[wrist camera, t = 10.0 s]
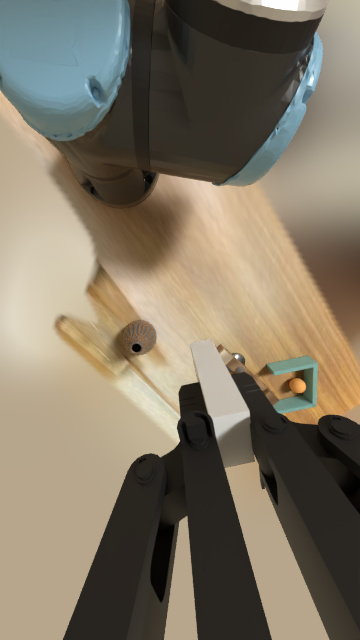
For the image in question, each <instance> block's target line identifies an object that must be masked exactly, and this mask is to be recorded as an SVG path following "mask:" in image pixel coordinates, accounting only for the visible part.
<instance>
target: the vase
mask: <svg viewBox="0 0 360 640" xmlns="http://www.w3.org/2000/svg"><path fill="white" fill-rule="evenodd" d="M122 339H123V344H124V347H125V348H126V350H127V351H128V352H130V353H132V354H134V355H143V354H146V353H148V352H149V351H150V350H151V349H152V348H153V347H154V345H155V343H156V331H155V329H154V327H153V326H152V325H151V324H150V323H149V322H147V321H144V320H137V321H133V322H132V323H130V324H129V325H128V326H127V327H126V328H125V330H124V332H123V337H122Z"/></svg>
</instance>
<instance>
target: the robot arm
mask: <svg viewBox="0 0 360 640" xmlns="http://www.w3.org/2000/svg"><path fill="white" fill-rule="evenodd" d="M328 2H329V0H0V90H1V92H2V93H3V94H4V95H5V97H6V98H7V99H8V100H9V101H10V102H11V103H12V105H13V106H14V107H15V108H16V109H17V110H18V112H19V113H20V114H21V116H22V117H23V119H24V120H25V121H26V123H27V124H28V125H29V126H30V127H32V128H33V129H34V130H36V131H37V132H38V133H39V134H42V135H43V136H44V137H45V138H46V139H47V140H48V141H49V142H50V143H51V144H52V145H53V146H54V147H55V148H56V149H58V150H59V151H60V152H61V153H62V154H63V155H64V156H65V157H66V158H67V159H68V162H69V165H70V167H71V170H72V172H73V174H74V176H75V177H76V179H77V180H78V182H79V183H80V185H81V186H82V187H83V188H84V189H85V190H86V191H87V192H88V193H89V194H90V195H91V196H93V197H94V198H95V199H97V200H98V201H100V202H101V203H103V204H106V205H108V206H111V207H116V208H127V207H131V206H134V205H137V204H139V203H140V202H142V201H143V200H145V199H146V198H147V197H148V196H149V195H150V193H151V192H152V191H153V189H154V187H155V185H156V183H157V180H158V177H159V173H160V174H166V175H172V176H178V177H183V178H189V179H195V180H201V181H207V182H212V184H213V185H216V186H224V185H231V186H240V187H243V186H247V185H251V184H253V183H255V182H257V181H258V180H260V179H261V178H262V177H263V176H264V175H265V174H266V173H267V172H268V171H269V170H270V169H271V168H272V167H273V166H274V165H275V163H276V162H277V160H278V159H279V158H280V156H281V155H282V154H283V152H284V151H285V149H286V148H287V146H288V144H289V143H290V141H291V140H292V138H293V136H294V134H295V132H296V131H297V128H298V127H299V125H300V123H301V121H302V119H303V116H304V114H305V112H306V109H307V108H306V106H305V104H306V102H307V101H308V99H309V98H310V96H311V95H312V93H313V92H314V90H315V87H316V84H317V81H318V77H319V74H320V70H321V64H322V56H323V48H322V42H321V40H320V38H319V37H318V33H317V31H316V30H317V28H318V26H319V23H320V21H321V19H322V17H323V15H324V12H325V10H326V8H327V5H328ZM190 347H191V352H192V356H193V361H194V366H195V371H196V376H197V380H198V382H197V383H192V384H188V385H183V386H181V388H180V391H179V404H180V415H181V418H180V420H179V421H178V425H177V430H178V434H179V438H180V442H179V444H178V445H177V446H176V448H175V449H174V450H172V451H171V452H169V453H167V454H166V455H164V456H162V457H159V456H158V455H155V454H145V455H143V456H141V457H139V458H137V459H136V461H134V462H133V463H132V465H131V466H130V468H129V470H128V472H127V474H126V477H125V480H124V482H123V485H122V487H121V490H120V493H119V495H118V498H117V500H116V503H115V506H114V508H113V511H112V514H111V516H110V519H109V521H108V524H107V526H106V529H105V532H104V534H103V537H102V539H101V542H100V545H99V547H98V550H97V552H96V555H95V558H94V560H93V563H92V565H91V568H90V571H89V573H88V576H87V578H86V581H85V584H84V587H83V589H82V591H81V594H80V597H79V599H78V602H77V605H76V607H75V610H74V612H73V615H72V617H71V620H70V623H69V625H68V628H67V630H66V633H65V636H64V638H63V640H164V634H165V626H166V619H167V611H168V603H169V596H170V588H171V580H172V573H173V565H174V558H175V549H176V542H177V535H178V527H179V521H180V520H181V519H183V518H184V517H186V516H188V528H189V540H190V552H191V563H192V575H193V587H194V598H195V610H196V621H197V634H198V640H272V639H271V635H270V631H269V628H268V624H267V620H266V617H265V613H264V610H263V606H262V603H261V599H260V595H259V591H258V588H257V584H256V581H255V577H254V573H253V570H252V566H251V562H250V559H249V556H248V552H247V548H246V544H245V541H244V537H243V533H242V530H241V526H240V523H239V519H238V515H237V512H236V508H235V504H234V501H233V497H232V494H231V490H230V486H229V483H228V480H227V476H226V472H225V468H226V467H231V466H236V465H240V464H245V463H250V462H254V461H255V460H254V455H255V457H256V459H257V461H258V464H259V471H260V482H261V486H262V489H265V488H266V490H267V492H268V495H269V497H270V499H271V501H272V503H273V506H274V509H275V511H276V514H277V516H278V518H279V521H280V523H281V525H282V528H283V530H284V532H285V535H286V537H287V540H288V542H289V544H290V547H291V548H292V551H293V553H294V556H295V559H296V561H297V563H298V566H299V568H300V570H301V573H302V575H303V577H304V580H305V582H306V585H307V587H308V589H309V592H310V594H311V596H312V599H313V601H314V603H315V606H316V608H317V611H318V613H319V615H320V617H321V620H322V622H323V625H324V627H325V630H326V632H327V634H328V637H329V639H330V640H360V425H359V424H357V423H356V422H354V421H352V420H350V419H348V418H345V417H342V416H339V415H326V416H322V417H321V418H320V419H319V421H318V425H313V424H301V423H295V422H292V421H290V420H289V419H288V418H287V417H286V416H284V415H282V414H280V413H278V412H277V411H276V410H275V408H274V407H273V405H272V404H271V403H270V401H269V400H268V398H267V397H266V395H265V394H264V393H263V391H262V390H261V388H260V387H259V385H258V384H257V383H256V381H255V380H254V378H253V377H252V376H251V375H249V374H247V373H246V372H241V373H237V374H232V375H230V373H229V371H228V369H227V367H226V365H225V364H224V362H223V360H222V358H221V356H220V354H219V352H218V350H217V348H216V347H215V345H214V343H213V341H212V339H208V340H203V341H198V342H194V343H190Z"/></svg>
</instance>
